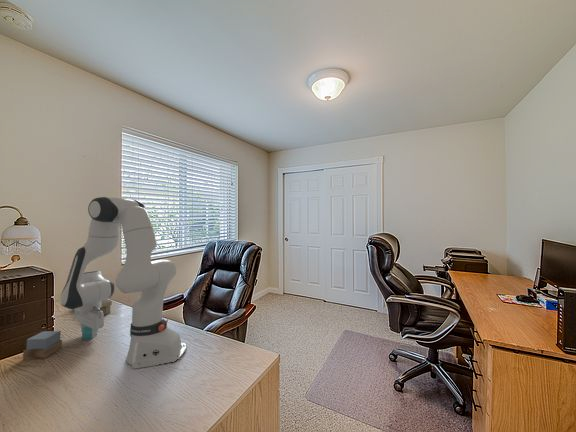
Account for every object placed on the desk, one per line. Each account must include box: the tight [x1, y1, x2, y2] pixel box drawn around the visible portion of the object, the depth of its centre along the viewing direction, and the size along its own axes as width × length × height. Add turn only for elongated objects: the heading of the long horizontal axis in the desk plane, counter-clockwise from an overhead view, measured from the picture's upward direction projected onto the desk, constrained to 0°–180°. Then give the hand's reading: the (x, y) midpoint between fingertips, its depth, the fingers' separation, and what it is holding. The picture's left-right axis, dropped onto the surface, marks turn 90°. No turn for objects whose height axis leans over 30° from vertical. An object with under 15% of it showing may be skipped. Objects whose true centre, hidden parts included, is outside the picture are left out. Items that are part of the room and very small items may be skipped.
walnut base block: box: [22, 339, 63, 361], centre depth 98 cm, size 8×8×4 cm
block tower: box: [100, 299, 113, 316], centre depth 146 cm, size 8×8×29 cm
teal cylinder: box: [81, 326, 95, 341], centre depth 112 cm, size 5×5×5 cm
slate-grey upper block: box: [25, 330, 62, 350], centre depth 99 cm, size 7×7×4 cm
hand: (88, 334), depth 112 cm, fingers open, 8 cm apart
